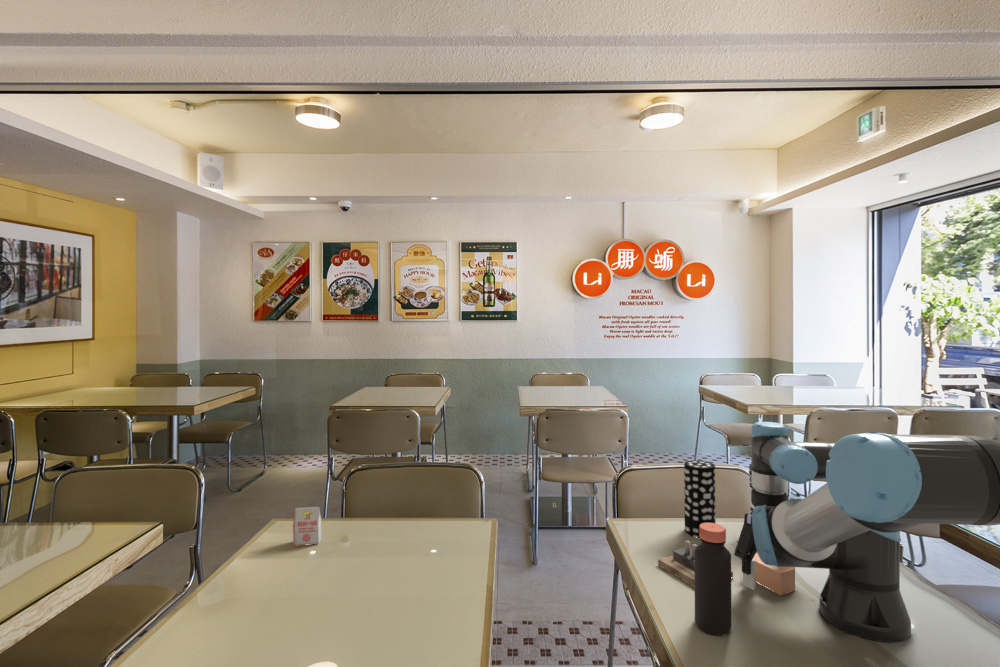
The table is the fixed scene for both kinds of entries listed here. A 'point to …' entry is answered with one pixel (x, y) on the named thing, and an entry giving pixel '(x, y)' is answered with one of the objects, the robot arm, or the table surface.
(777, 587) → the block
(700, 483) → the white-spotted black cylinder
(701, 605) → the bottle
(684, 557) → the pin board
